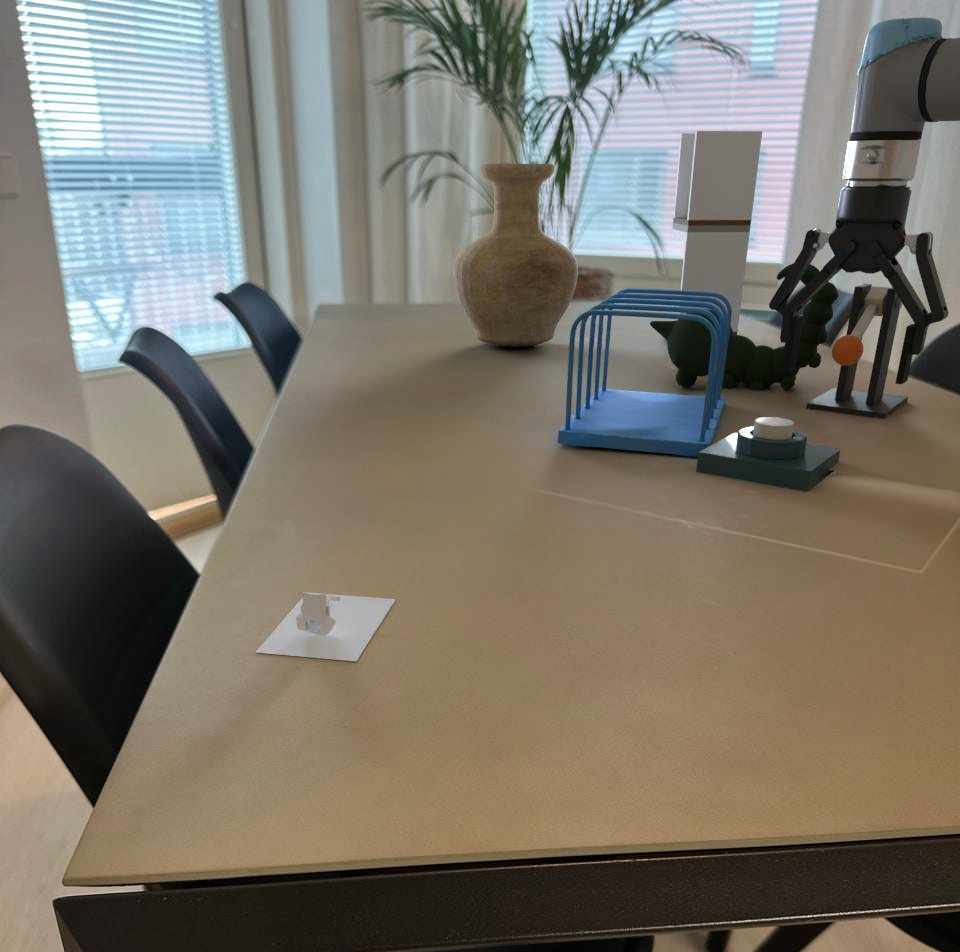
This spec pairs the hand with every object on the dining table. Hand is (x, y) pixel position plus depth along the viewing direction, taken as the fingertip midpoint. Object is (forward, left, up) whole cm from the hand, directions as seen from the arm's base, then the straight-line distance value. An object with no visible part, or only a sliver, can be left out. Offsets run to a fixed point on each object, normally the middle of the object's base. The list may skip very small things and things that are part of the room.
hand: (843, 376), depth 113 cm
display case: (+42, -54, -6) cm, 69 cm away
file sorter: (+19, +15, -6) cm, 25 cm away
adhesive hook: (+12, +79, -6) cm, 80 cm away
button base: (0, +24, -6) cm, 25 cm away
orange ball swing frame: (0, -10, -6) cm, 12 cm away
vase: (+67, -27, -6) cm, 73 cm away
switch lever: (0, -6, +4) cm, 7 cm away
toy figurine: (+19, -13, -6) cm, 24 cm away
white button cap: (0, +24, -3) cm, 24 cm away
